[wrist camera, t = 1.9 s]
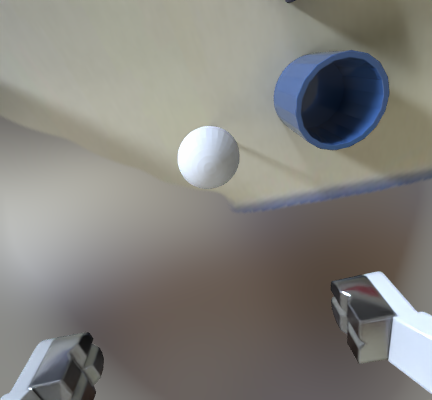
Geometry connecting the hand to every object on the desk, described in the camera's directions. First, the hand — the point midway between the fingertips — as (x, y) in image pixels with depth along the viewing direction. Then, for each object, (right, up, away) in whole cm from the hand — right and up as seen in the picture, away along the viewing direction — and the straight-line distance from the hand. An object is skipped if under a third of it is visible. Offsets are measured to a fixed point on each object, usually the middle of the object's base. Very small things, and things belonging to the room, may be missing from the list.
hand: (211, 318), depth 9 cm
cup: (+12, +18, +27) cm, 35 cm away
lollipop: (-1, +14, +28) cm, 32 cm away
